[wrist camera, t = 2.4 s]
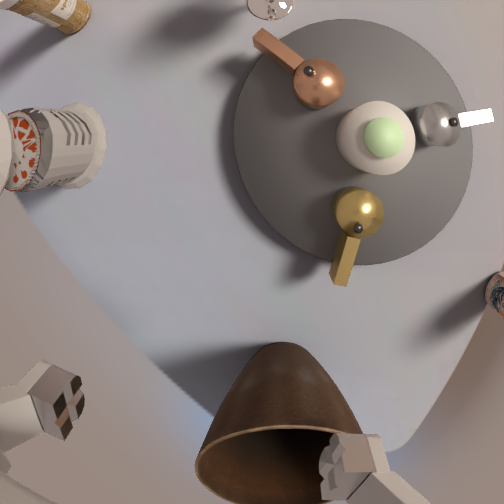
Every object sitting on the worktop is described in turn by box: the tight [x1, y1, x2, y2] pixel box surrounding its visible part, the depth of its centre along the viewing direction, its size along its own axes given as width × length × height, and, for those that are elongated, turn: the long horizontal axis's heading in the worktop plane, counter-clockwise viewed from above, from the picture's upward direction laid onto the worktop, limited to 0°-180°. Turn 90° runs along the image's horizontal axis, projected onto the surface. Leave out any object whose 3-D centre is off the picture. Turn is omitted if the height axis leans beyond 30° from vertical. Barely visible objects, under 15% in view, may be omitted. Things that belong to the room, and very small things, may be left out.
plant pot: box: [195, 342, 363, 504], centre depth 29 cm, size 15×15×16 cm
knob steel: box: [410, 102, 494, 147], centre depth 23 cm, size 8×4×3 cm, turn 109°
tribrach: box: [234, 19, 473, 265], centre depth 25 cm, size 24×24×7 cm
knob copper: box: [252, 28, 345, 110], centre depth 23 cm, size 8×4×3 cm, turn 49°
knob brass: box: [329, 186, 384, 287], centre depth 27 cm, size 8×4×3 cm, turn 169°
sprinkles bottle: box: [0, 0, 91, 34], centre depth 18 cm, size 5×5×13 cm
